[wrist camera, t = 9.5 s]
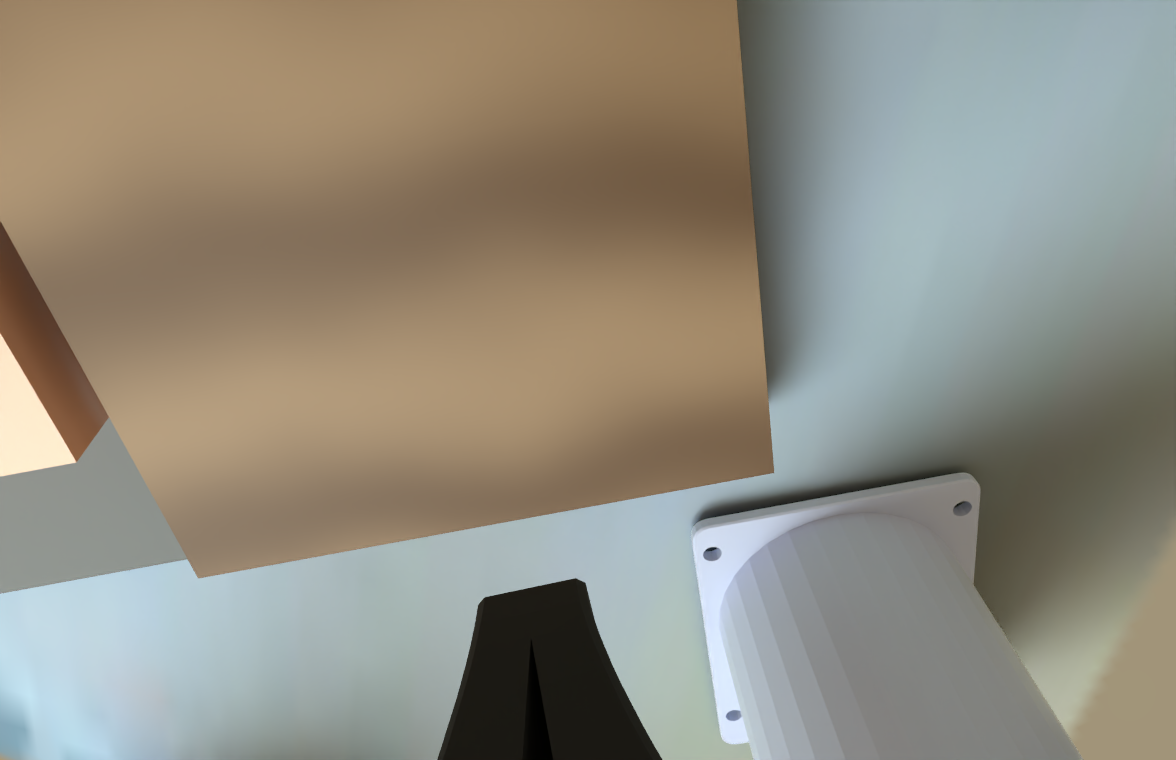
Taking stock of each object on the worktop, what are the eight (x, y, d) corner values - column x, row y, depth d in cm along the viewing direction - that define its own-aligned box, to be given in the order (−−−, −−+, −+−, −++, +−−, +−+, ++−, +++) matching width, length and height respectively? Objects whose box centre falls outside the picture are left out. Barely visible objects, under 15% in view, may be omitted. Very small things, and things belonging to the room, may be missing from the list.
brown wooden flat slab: (749, 414, 23) (774, 472, 21) (227, 511, 23) (198, 578, 21) (690, -229, 16) (717, -241, 14) (-67, -73, 16) (-157, -62, 14)
